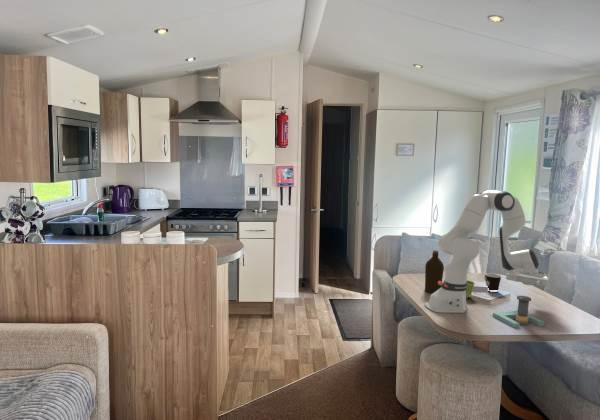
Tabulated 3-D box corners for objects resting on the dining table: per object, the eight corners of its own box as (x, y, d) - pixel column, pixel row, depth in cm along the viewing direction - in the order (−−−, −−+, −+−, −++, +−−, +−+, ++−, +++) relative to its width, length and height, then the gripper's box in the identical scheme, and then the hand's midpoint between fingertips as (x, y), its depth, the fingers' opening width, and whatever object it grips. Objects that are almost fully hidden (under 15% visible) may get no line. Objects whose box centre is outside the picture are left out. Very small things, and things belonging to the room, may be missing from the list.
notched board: (514, 327, 221) (514, 323, 221) (492, 316, 237) (492, 312, 236) (543, 325, 225) (543, 321, 225) (520, 314, 241) (520, 310, 241)
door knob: (520, 325, 224) (523, 300, 223) (511, 320, 230) (514, 295, 229) (531, 324, 226) (534, 299, 224) (522, 320, 232) (524, 295, 230)
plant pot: (471, 300, 262) (472, 285, 261) (454, 297, 267) (456, 282, 266) (475, 296, 270) (476, 281, 269) (458, 293, 275) (459, 279, 274)
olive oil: (440, 295, 270) (443, 253, 267) (422, 292, 274) (424, 251, 271) (443, 290, 279) (446, 250, 276) (425, 287, 284) (428, 248, 281)
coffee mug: (501, 294, 276) (502, 277, 275) (486, 292, 278) (487, 276, 276) (497, 288, 287) (498, 273, 286) (482, 287, 289) (483, 272, 288)
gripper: (508, 267, 254) (504, 272, 242) (549, 274, 243) (548, 279, 232) (506, 278, 254) (503, 283, 243) (548, 286, 244) (547, 291, 232)
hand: (525, 281), depth 237 cm, fingers open, 8 cm apart
